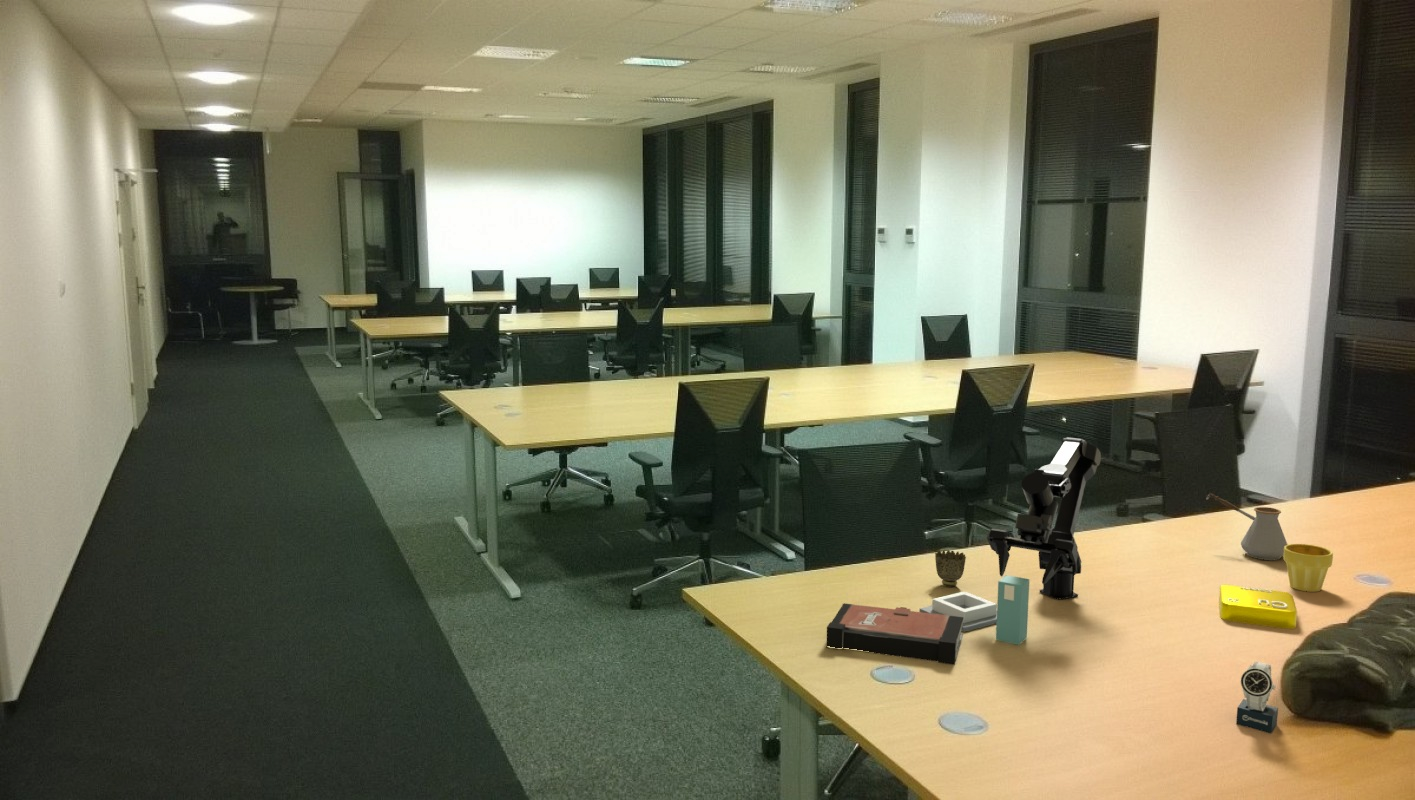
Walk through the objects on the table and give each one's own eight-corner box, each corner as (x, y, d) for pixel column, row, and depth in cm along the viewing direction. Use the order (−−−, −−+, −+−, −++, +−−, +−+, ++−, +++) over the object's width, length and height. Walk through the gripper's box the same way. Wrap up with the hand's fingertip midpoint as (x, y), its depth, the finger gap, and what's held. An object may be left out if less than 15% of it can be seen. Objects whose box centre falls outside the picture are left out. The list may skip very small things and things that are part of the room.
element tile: (1290, 610, 237) (1292, 590, 236) (1296, 631, 224) (1298, 610, 223) (1218, 600, 243) (1219, 581, 243) (1219, 621, 230) (1221, 601, 229)
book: (963, 636, 222) (964, 614, 221) (954, 666, 205) (955, 643, 205) (843, 621, 230) (844, 600, 230) (826, 650, 214) (826, 627, 213)
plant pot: (1283, 591, 248) (1287, 552, 247) (1278, 579, 258) (1281, 541, 257) (1333, 597, 245) (1336, 557, 243) (1325, 584, 254) (1329, 545, 253)
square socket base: (963, 601, 242) (964, 587, 241) (1009, 620, 230) (1010, 605, 229) (919, 612, 234) (919, 597, 234) (964, 632, 223) (964, 616, 222)
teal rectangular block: (1003, 632, 222) (1006, 574, 220) (1026, 637, 219) (1029, 579, 218) (995, 640, 218) (997, 581, 216) (1018, 645, 215) (1021, 585, 213)
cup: (965, 591, 249) (966, 559, 248) (934, 589, 250) (935, 557, 249) (964, 581, 256) (965, 550, 255) (933, 579, 258) (934, 549, 256)
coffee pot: (1293, 556, 277) (1298, 502, 275) (1280, 565, 269) (1285, 509, 267) (1210, 540, 292) (1214, 489, 290) (1195, 548, 284) (1199, 496, 282)
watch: (1233, 728, 178) (1238, 668, 176) (1244, 712, 184) (1249, 653, 183) (1269, 737, 175) (1274, 676, 173) (1279, 721, 181) (1284, 661, 179)
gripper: (991, 493, 229) (971, 552, 221) (1077, 505, 218) (1059, 568, 211) (1001, 520, 236) (982, 578, 229) (1085, 532, 225) (1068, 594, 218)
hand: (1021, 579), depth 221 cm, fingers open, 9 cm apart
